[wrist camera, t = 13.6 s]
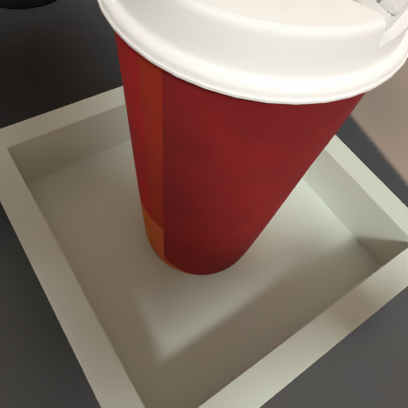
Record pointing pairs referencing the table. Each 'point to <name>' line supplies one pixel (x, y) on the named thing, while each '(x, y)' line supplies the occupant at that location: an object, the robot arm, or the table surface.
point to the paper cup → (240, 107)
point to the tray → (188, 283)
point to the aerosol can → (23, 3)
